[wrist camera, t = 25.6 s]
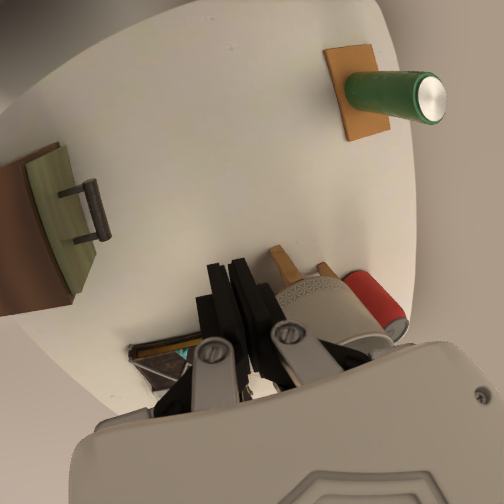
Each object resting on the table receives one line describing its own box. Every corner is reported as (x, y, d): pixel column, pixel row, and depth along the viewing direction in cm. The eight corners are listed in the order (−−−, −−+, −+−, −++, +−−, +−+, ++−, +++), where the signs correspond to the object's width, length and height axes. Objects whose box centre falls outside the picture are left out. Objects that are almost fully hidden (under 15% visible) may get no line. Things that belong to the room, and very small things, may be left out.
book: (128, 343, 40) (126, 368, 36) (232, 319, 42) (240, 343, 38) (173, 409, 51) (176, 429, 47) (252, 391, 54) (259, 411, 49)
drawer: (100, 134, 25) (77, 145, 18) (128, 246, 32) (118, 285, 25) (-18, 180, 22) (-53, 203, 15) (16, 272, 29) (-7, 309, 22)
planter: (330, 296, 45) (389, 378, 30) (256, 328, 44) (294, 425, 29) (318, 228, 38) (399, 312, 23) (228, 265, 37) (268, 376, 22)
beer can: (339, 273, 43) (381, 323, 33) (372, 265, 44) (417, 310, 34) (333, 305, 46) (369, 356, 36) (365, 296, 48) (403, 342, 38)
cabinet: (58, 141, 24) (18, 159, 16) (91, 255, 32) (72, 304, 24) (-26, 179, 22) (-69, 207, 14) (9, 275, 29) (-18, 319, 21)
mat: (323, 50, 26) (325, 49, 26) (368, 44, 27) (371, 44, 26) (347, 141, 33) (349, 141, 32) (387, 128, 33) (390, 129, 33)
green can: (343, 69, 27) (414, 67, 17) (377, 74, 28) (449, 77, 18) (345, 110, 30) (415, 123, 20) (378, 111, 31) (448, 127, 21)
